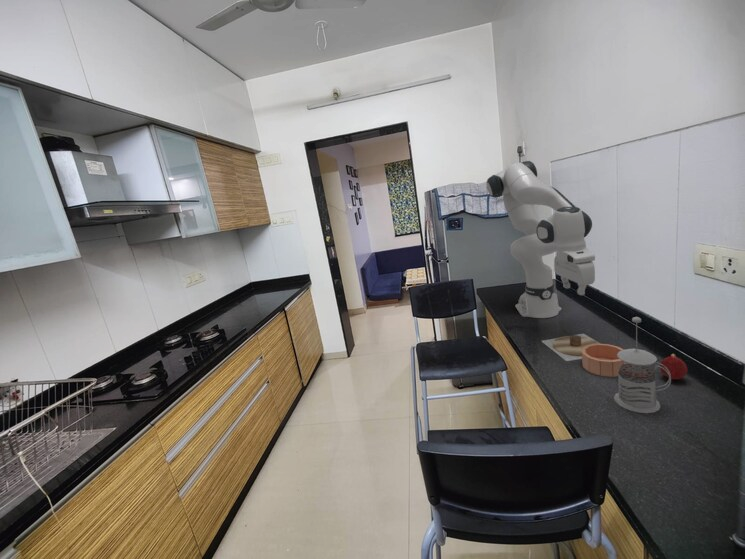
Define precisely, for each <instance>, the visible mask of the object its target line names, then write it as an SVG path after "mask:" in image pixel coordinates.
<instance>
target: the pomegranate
mask: <svg viewBox="0 0 745 559" xmlns="http://www.w3.org/2000/svg"><path fill="white" fill-rule="evenodd" d="M659 363H660V364H662V365H664V366H665V367H667V369H668V370H669V372H670V374H671V380H680V379H682V378H684V377H685V376H687V374H688V366H687V364H686V363H685V362H684V361H683V360H682V359H681V358H679V357H677V356H676V354H674V353H672V354H670V356H667V357H665V358H663V359H662V360H660V362H659ZM660 364H659V366H660V367H662V368H664V369H665V370H666V371H667V369H666V368H665V367H664V366H662V365H660ZM660 367H659V369H660V372H661V373H662V374H663V375H664V376H666V377H667V378H668V379H669V375H668V373H667V372H666V371H665V370H664V369H662V368H660Z"/></svg>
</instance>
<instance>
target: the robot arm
mask: <svg viewBox="0 0 745 559" xmlns="http://www.w3.org/2000/svg"><path fill="white" fill-rule="evenodd" d="M537 170H538V169H537V167H536V166H535V163H534V162H532V161H531V160H526V161H522V162H514V163H512V164H510V165H509V166H507V168H506V169H503V170H501V171H500V172H497V173H496V174H492V175H490V176H489V177H488V178H487V180H486V181H485V182H486V191H487V193H488V194H489V195H490V196H491V197H492V198H500V197H502V201H503V204H504V208H505V210H506V214H507V215H508V218H509V220H510V222H511V224H512V226H513V228H514V229H515V230H517V231H519V232H522V233H523V234H525V235H524V236H521V237H519V238H517V239H516V240H514V241H512V242H511V244H510V246H509V247H510V248H509V251H510V252H509V253H510V255H511V256H512V258H513V259H515V260H516V261H517V262H519V263H520V264H521V266H522V267H523V269H524V274H525V282H526V284H525V286H524V287H525V288H524V289H525V290H524V292H523V293H522V294H521V295H520V297H519V299H518V303H517V304H515V306H514V307H515V308H516V309H517V311H518V313H519V314H520V315H521V317H524V318H525V317H526V318H527V317H528V318H529V317H530V318H536V319H546V318H553V317H555V316H557V315H559V313H560V311H562V307H561V306H560V305H559V300H558V294H557V293H555V285H554V282H553V270H552V268H551V267H550V266H549V265H547V264H545V263H544V261H543V258H542V257H544V256H548V255H552V254H554V253H556V254H555V257H554V259H553V260H554V261H553V262H554V263H553V267H554V268H553V269H554V273H555V275H557V276H560V279H561V282H562V284H563V285H562V286H563V288H565V289H567V290H568V289H570V288H571V283H570V282H569V281H571V282H574V283H576V284H577V286H578V288H577V289H576V293H577V295H579V296H585V294H586V291H585V290H586V288H587V287H588V285H594V283H595V281H596V271H595V263H594V262H593V261H595V260H596V256H595V254H594V253H593V252H592V251H590V249H588V248H587V243H586V239H585V238H586V237H587V236H588V235H589V234H590V232H591V231H592V228H593V222H592V221H593V220H592V218H591V217H590V216H589V214H587V213H586V212H585V211H583V210H581V208H580V207H577V206H576V205H574V204H573V203H572V202H571V200H570V199H568V198H567V197H566V196H565V195H564V194H563V193H561V192H560V191H559V190H558V189H556V187H553V186H550V185H549V184H547V183H545V182H543V181H542V180H540V179H539V178H538V171H537ZM533 205H538V206H547V207H550V209H553V210H554V213H553V214H552V215H549V216H548V217H546V218H544V219H541V218H540V217H539V215H538V214H537V212H536V210H535V208H534V206H533Z"/></svg>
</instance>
